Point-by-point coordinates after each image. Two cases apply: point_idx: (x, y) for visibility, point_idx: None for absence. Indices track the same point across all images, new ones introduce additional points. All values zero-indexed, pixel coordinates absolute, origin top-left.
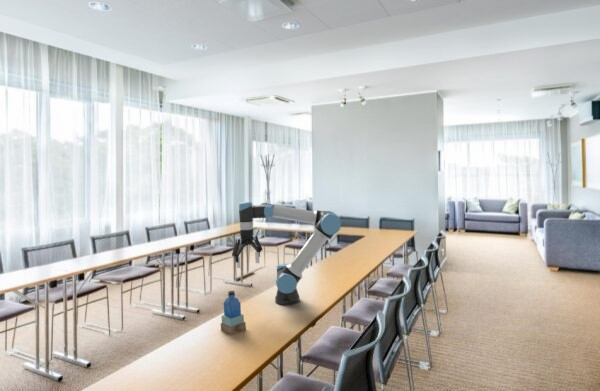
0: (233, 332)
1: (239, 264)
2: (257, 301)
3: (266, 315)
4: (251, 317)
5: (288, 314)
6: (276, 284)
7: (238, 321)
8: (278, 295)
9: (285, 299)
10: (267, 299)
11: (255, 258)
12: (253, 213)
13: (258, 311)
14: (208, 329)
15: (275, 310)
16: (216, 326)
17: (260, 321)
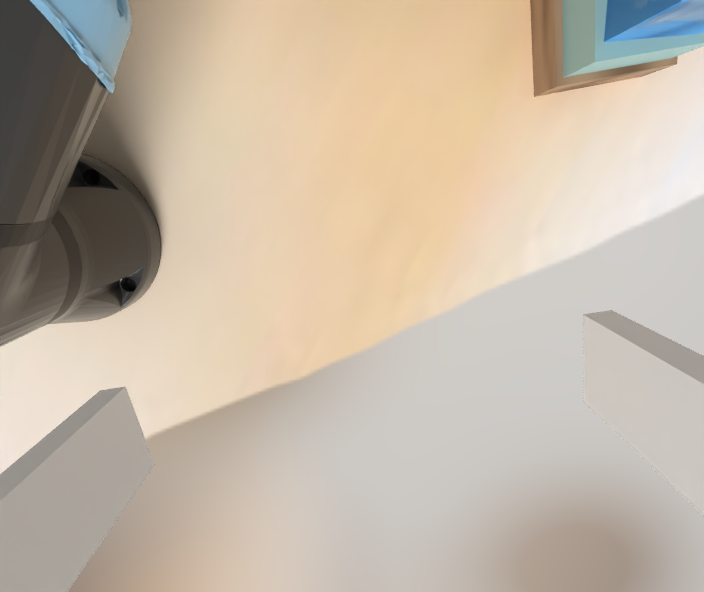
0: None
1: (666, 343)
2: (248, 351)
3: (311, 97)
4: (402, 135)
5: (181, 2)
6: (117, 13)
7: None
8: (120, 240)
9: (97, 186)
10: (181, 342)
11: (101, 538)
12: None
13: (319, 198)
14: (683, 141)
15: (222, 136)
16: (627, 151)
17: (392, 27)
